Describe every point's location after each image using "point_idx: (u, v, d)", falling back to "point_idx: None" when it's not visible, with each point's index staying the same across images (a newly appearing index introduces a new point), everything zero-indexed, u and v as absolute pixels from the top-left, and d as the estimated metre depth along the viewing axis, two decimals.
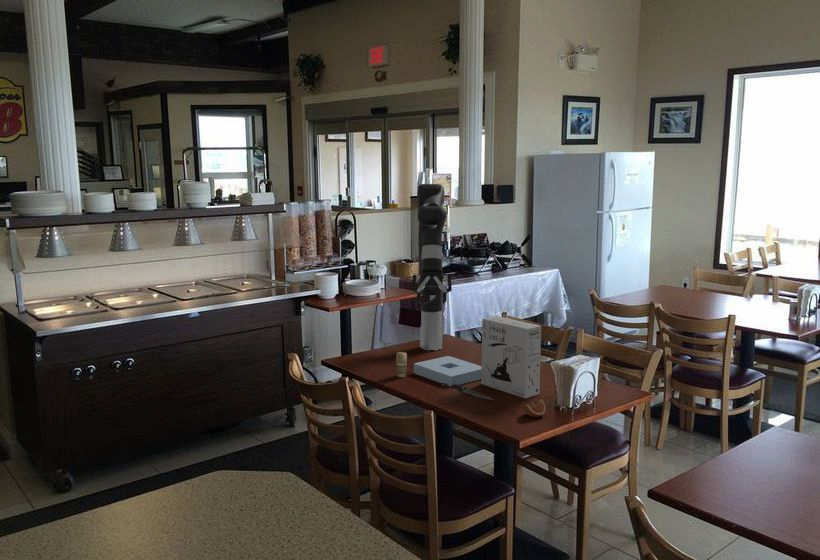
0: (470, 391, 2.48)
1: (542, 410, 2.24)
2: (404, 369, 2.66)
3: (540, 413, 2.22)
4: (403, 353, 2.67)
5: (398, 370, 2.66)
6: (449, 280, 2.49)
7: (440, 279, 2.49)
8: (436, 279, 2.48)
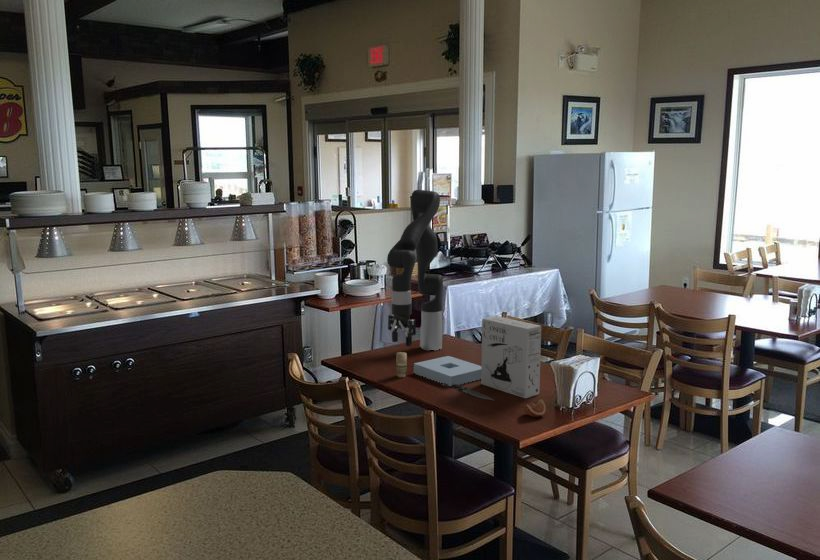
0: (470, 391, 2.48)
1: (542, 410, 2.24)
2: (404, 369, 2.66)
3: (540, 413, 2.22)
4: (403, 353, 2.67)
5: (398, 370, 2.66)
6: (409, 326, 2.59)
7: (404, 323, 2.61)
8: (400, 323, 2.62)
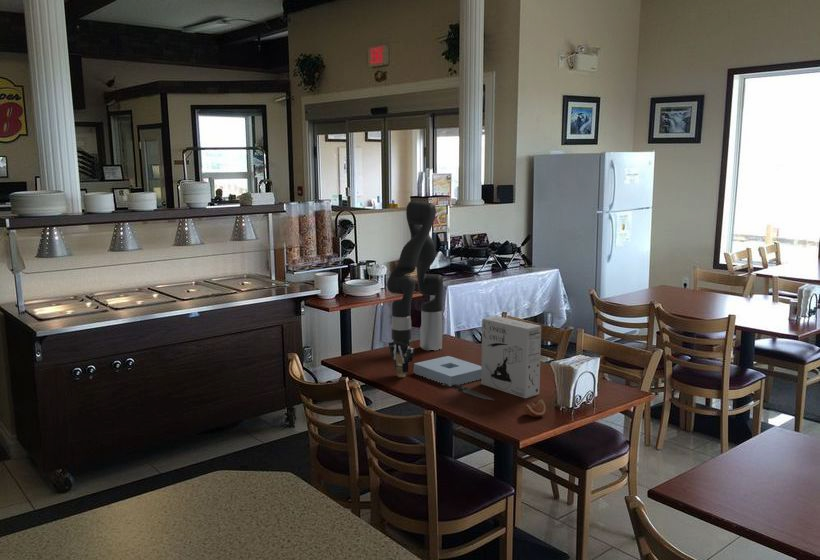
0: (470, 391, 2.48)
1: (542, 410, 2.24)
2: None
3: (540, 413, 2.22)
4: None
5: (398, 370, 2.66)
6: (407, 354, 2.61)
7: (403, 348, 2.63)
8: (399, 349, 2.64)
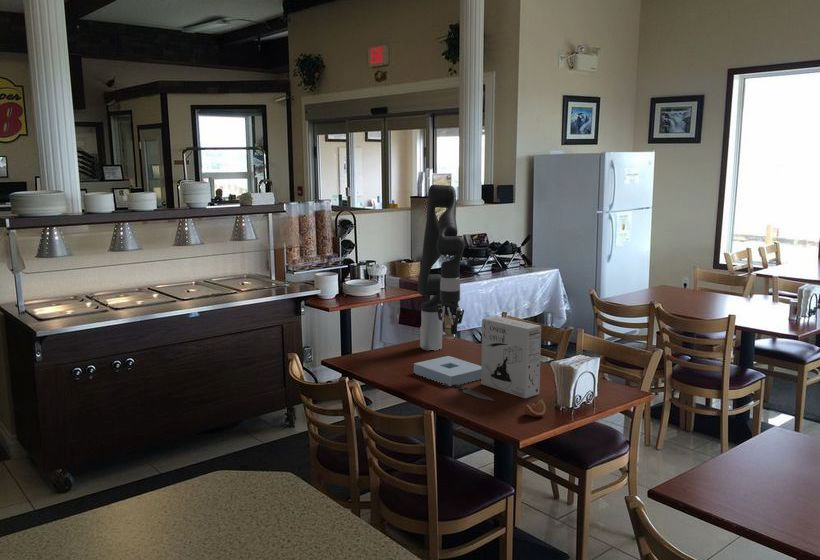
0: (470, 391, 2.48)
1: (542, 410, 2.24)
2: None
3: (540, 413, 2.22)
4: None
5: (446, 332, 2.64)
6: (457, 315, 2.60)
7: (452, 309, 2.62)
8: (448, 310, 2.62)
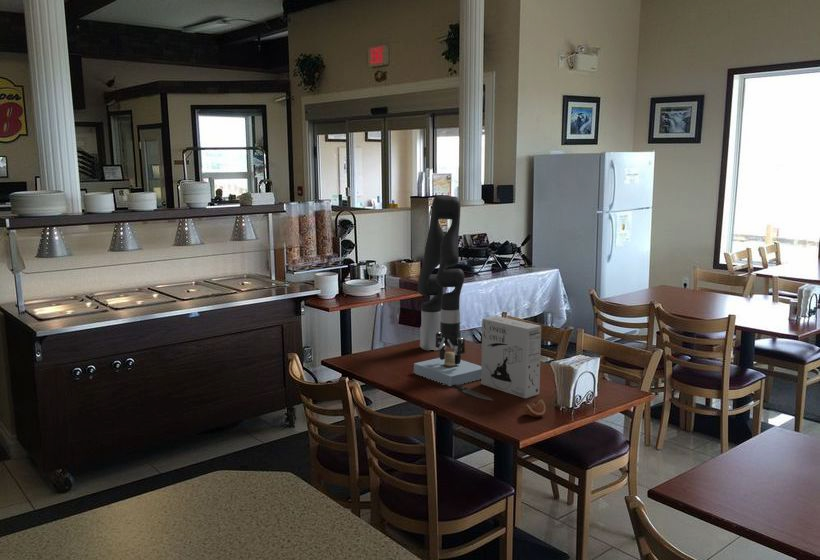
0: (470, 391, 2.48)
1: (542, 410, 2.24)
2: None
3: (540, 413, 2.22)
4: (451, 352, 2.67)
5: None
6: (458, 344, 2.61)
7: (453, 341, 2.63)
8: (449, 342, 2.64)
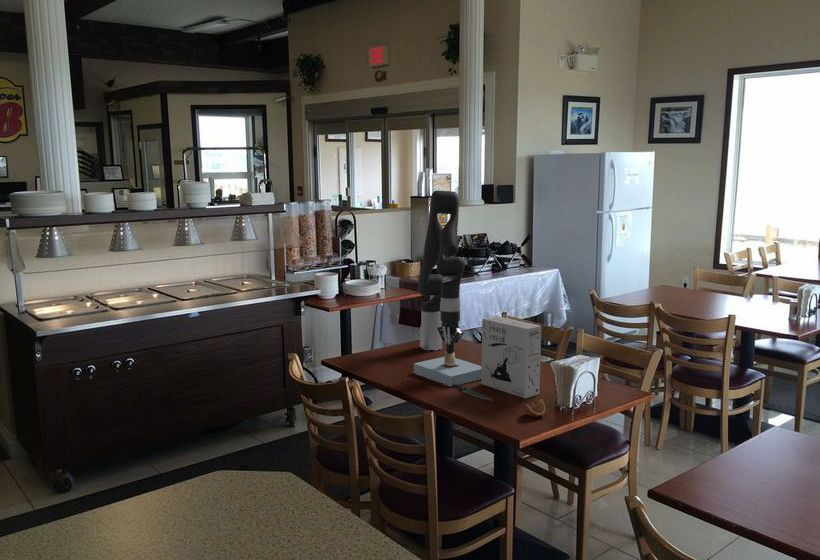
0: (470, 391, 2.48)
1: (542, 410, 2.24)
2: None
3: (540, 413, 2.22)
4: None
5: None
6: (455, 336, 2.62)
7: (452, 329, 2.63)
8: (448, 330, 2.64)
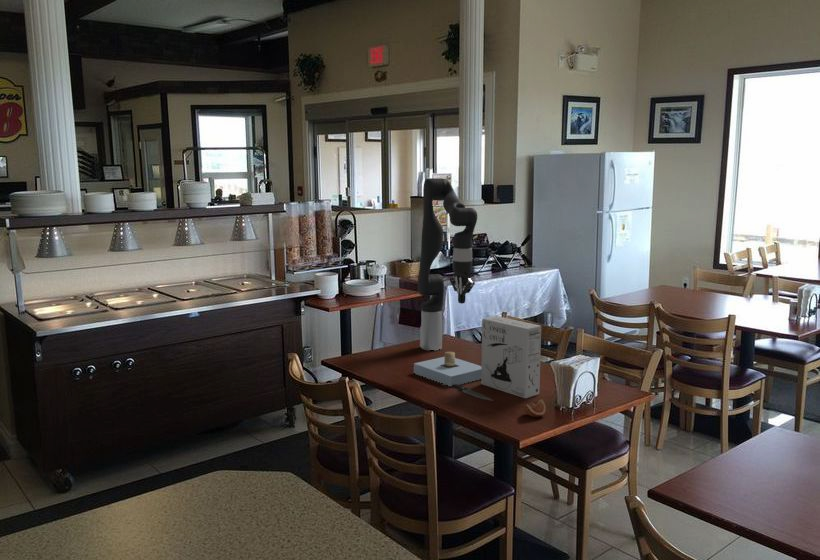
0: (470, 391, 2.48)
1: (542, 410, 2.24)
2: None
3: (540, 413, 2.22)
4: (451, 352, 2.67)
5: None
6: (467, 286, 2.67)
7: (464, 279, 2.68)
8: (460, 280, 2.68)
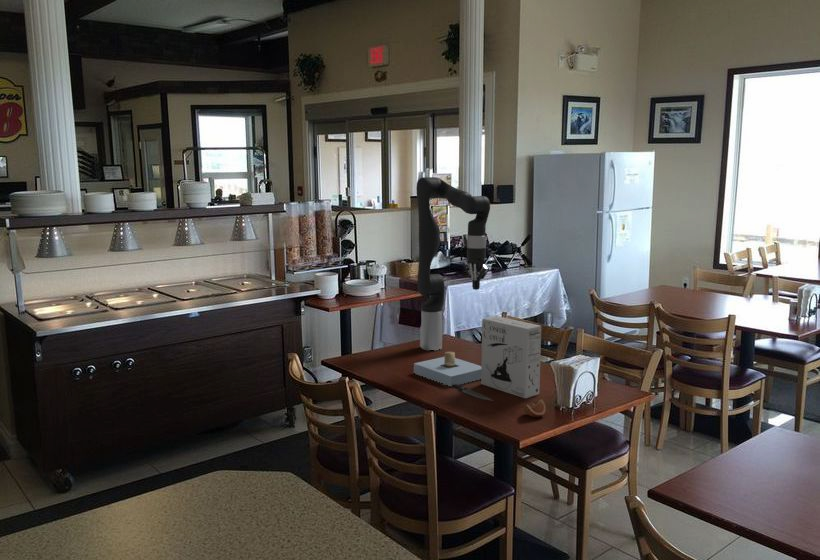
0: (470, 391, 2.48)
1: (542, 410, 2.24)
2: None
3: (540, 413, 2.22)
4: (451, 352, 2.67)
5: None
6: (481, 272, 2.74)
7: (478, 265, 2.76)
8: (474, 267, 2.76)
